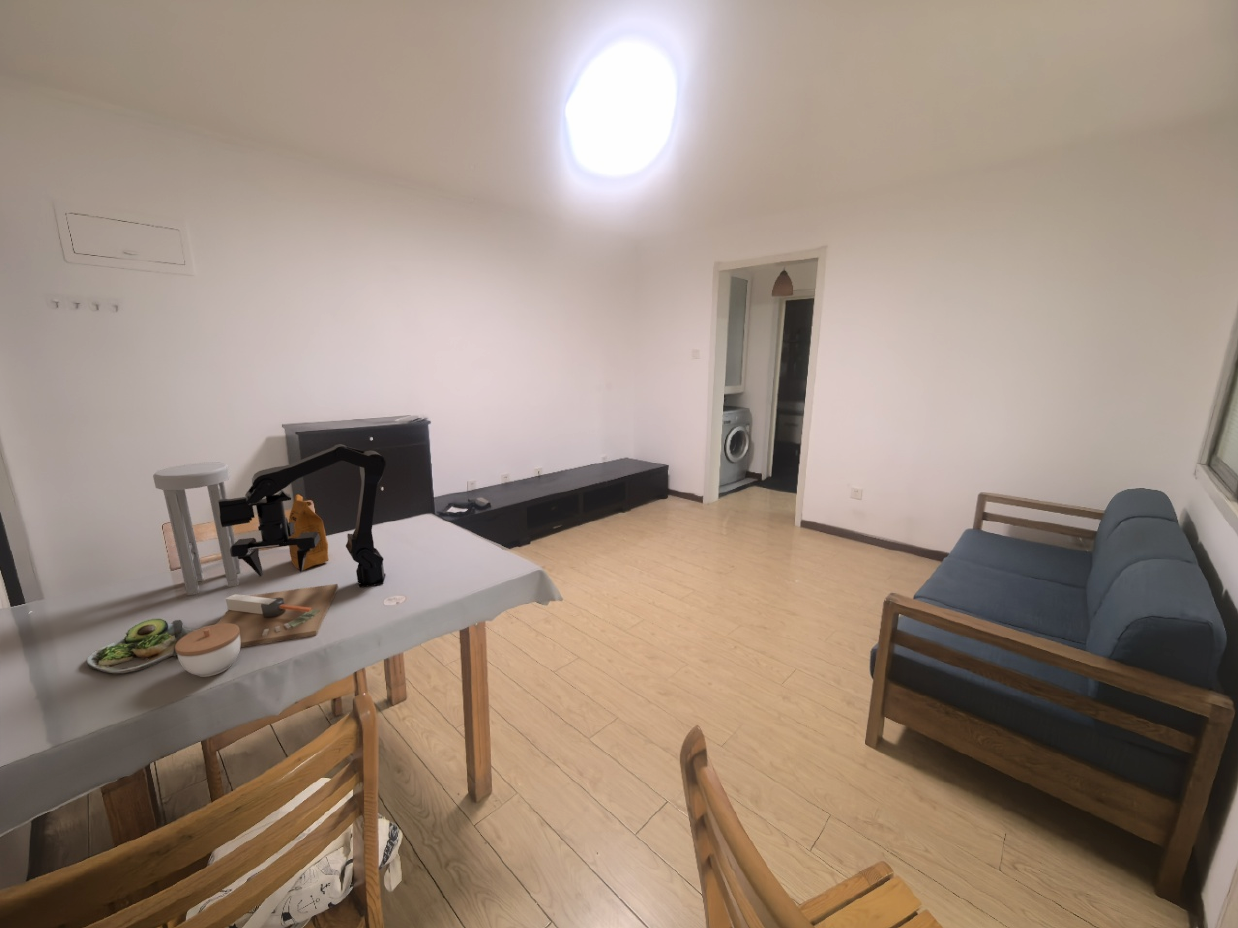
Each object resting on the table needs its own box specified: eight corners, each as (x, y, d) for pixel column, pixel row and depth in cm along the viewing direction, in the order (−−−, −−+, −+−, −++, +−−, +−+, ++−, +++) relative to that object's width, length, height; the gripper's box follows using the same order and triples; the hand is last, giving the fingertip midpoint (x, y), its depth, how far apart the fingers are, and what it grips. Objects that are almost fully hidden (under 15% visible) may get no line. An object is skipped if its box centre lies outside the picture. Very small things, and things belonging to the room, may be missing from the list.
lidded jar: (193, 691, 99) (184, 651, 96) (174, 672, 104) (164, 634, 102) (254, 663, 108) (246, 625, 105) (233, 647, 113) (225, 611, 111)
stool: (249, 566, 154) (229, 459, 146) (246, 586, 142) (223, 470, 133) (186, 578, 146) (160, 466, 137) (176, 600, 133) (147, 478, 125)
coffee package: (323, 551, 165) (313, 490, 160) (332, 563, 156) (323, 498, 151) (288, 560, 158) (277, 496, 153) (296, 573, 150) (285, 505, 144)
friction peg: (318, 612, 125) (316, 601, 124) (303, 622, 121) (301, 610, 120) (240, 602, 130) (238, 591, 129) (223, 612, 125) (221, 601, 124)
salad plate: (221, 640, 116) (218, 623, 115) (126, 687, 100) (121, 668, 99) (173, 623, 123) (169, 607, 122) (76, 664, 107) (71, 646, 106)
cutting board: (338, 587, 141) (337, 582, 141) (316, 634, 118) (315, 629, 118) (239, 600, 133) (238, 595, 133) (196, 654, 110) (195, 648, 110)
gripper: (320, 505, 136) (327, 556, 140) (241, 512, 130) (251, 565, 134) (310, 518, 126) (318, 573, 130) (224, 526, 120) (235, 583, 124)
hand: (281, 573), depth 130 cm, fingers open, 9 cm apart
